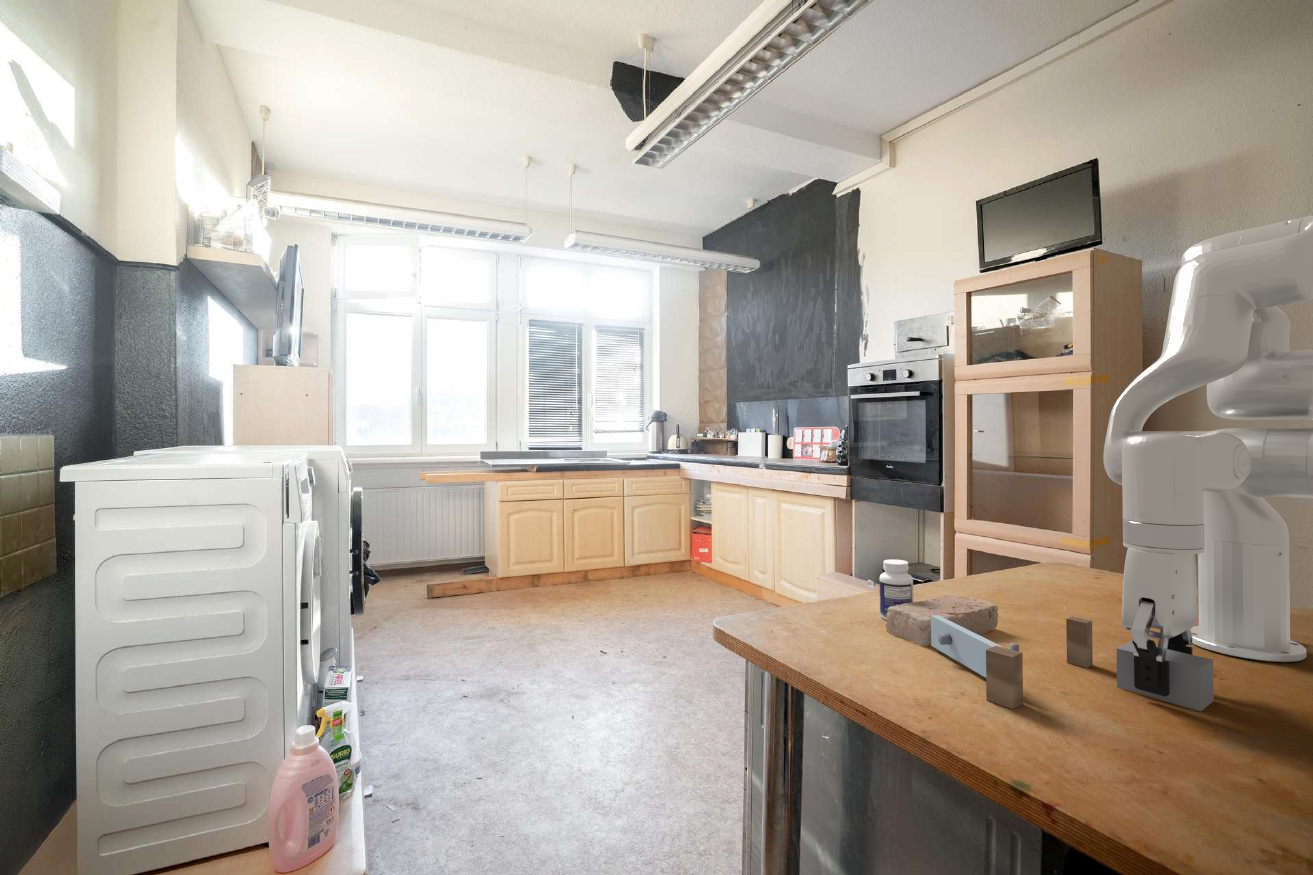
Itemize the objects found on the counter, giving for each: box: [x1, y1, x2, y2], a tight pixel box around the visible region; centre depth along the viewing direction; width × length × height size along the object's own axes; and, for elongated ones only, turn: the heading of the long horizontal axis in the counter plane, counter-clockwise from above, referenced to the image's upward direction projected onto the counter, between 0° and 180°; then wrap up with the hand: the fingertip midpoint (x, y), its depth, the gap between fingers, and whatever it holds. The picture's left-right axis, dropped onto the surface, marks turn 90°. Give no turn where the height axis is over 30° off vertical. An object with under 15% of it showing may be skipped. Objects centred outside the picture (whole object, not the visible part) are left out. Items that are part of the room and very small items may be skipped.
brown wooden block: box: [985, 645, 1024, 710], centre depth 72 cm, size 2×3×6 cm
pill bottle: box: [879, 559, 914, 621], centre depth 105 cm, size 5×5×10 cm
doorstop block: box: [1116, 640, 1215, 712], centre depth 73 cm, size 4×8×5 cm, turn 34°
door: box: [930, 615, 1020, 678], centre depth 81 cm, size 17×2×6 cm, turn 8°
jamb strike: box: [1065, 616, 1094, 668], centre depth 83 cm, size 2×2×6 cm
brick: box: [885, 593, 999, 647], centre depth 98 cm, size 17×8×5 cm, turn 115°
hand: (1163, 682), depth 73 cm, fingers open, 7 cm apart
